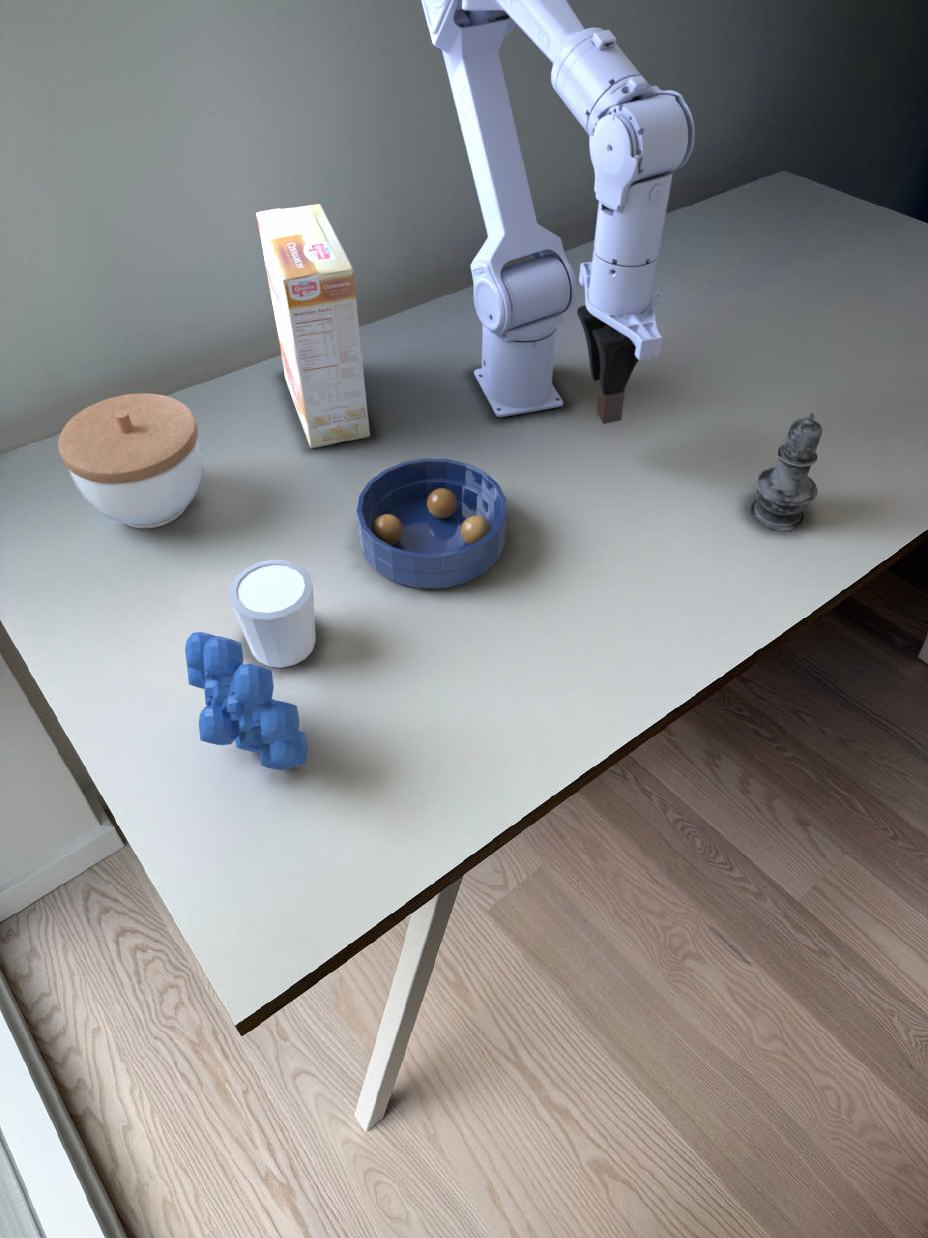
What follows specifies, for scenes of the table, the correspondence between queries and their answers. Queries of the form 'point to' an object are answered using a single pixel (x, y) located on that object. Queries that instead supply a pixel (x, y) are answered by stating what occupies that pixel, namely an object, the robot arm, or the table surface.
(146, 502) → the lidded bowl
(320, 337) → the coffeecake box
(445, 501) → the bead
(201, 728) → the grapes
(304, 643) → the white cylinder
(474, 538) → the bead
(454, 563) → the bowl
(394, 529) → the bead
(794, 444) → the grey chess piece
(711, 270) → the table surface
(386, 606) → the table surface
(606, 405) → the stick
